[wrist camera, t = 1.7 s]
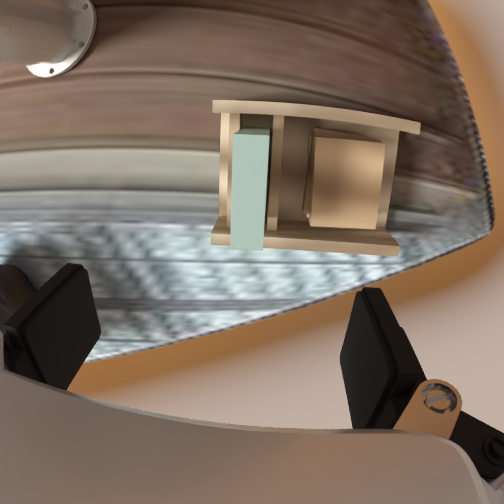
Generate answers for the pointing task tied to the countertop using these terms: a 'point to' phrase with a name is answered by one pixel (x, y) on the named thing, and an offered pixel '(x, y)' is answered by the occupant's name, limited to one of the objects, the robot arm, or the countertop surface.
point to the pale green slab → (249, 187)
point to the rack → (304, 173)
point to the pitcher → (12, 292)
